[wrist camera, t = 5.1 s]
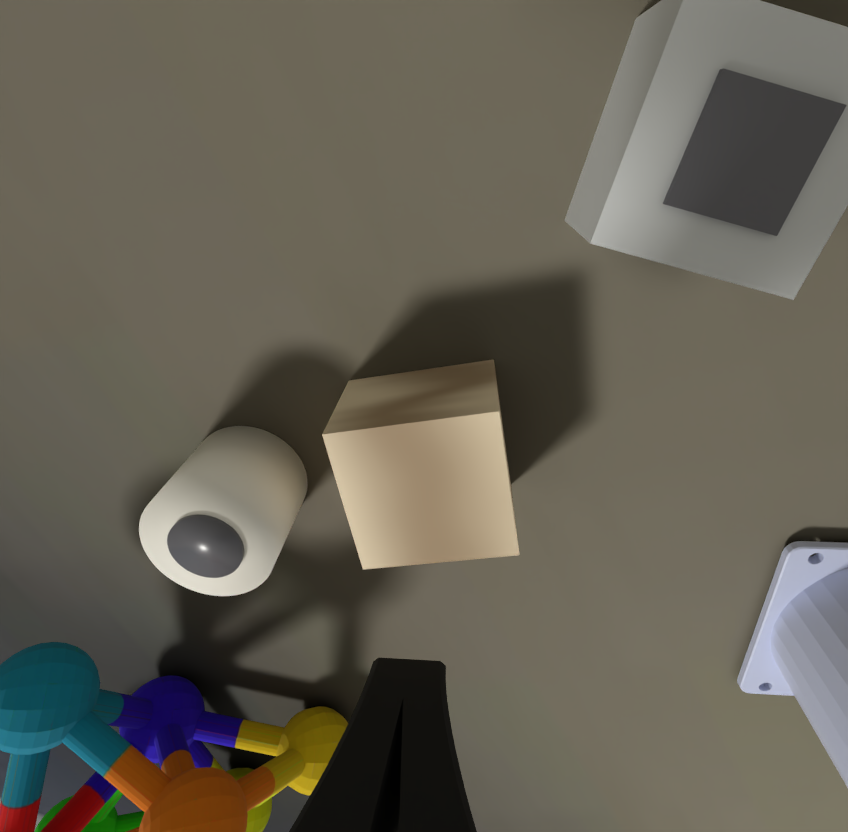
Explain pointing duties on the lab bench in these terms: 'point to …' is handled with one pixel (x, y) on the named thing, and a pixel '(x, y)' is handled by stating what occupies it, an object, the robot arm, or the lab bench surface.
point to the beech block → (424, 466)
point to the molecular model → (144, 751)
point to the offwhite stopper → (225, 512)
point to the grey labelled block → (722, 143)
